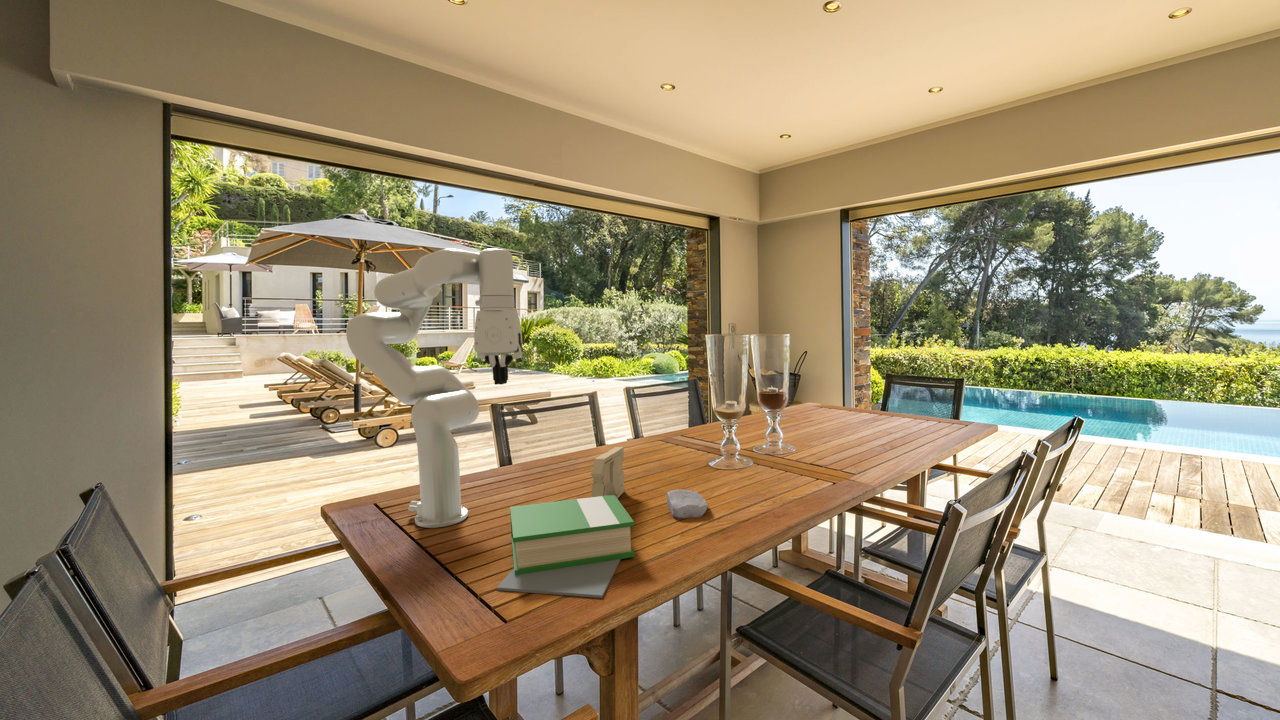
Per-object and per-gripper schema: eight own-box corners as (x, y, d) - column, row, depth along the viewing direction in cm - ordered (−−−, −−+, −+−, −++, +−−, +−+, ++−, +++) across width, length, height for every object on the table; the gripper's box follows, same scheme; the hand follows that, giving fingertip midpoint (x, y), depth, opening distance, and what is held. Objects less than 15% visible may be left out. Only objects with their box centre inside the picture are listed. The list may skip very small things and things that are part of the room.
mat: (496, 589, 95) (496, 587, 95) (541, 540, 116) (540, 537, 116) (602, 598, 91) (602, 595, 91) (627, 544, 113) (627, 542, 113)
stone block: (698, 507, 140) (663, 502, 138) (702, 490, 139) (666, 485, 138) (709, 526, 128) (670, 521, 127) (713, 507, 128) (674, 502, 126)
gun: (602, 523, 125) (601, 461, 125) (589, 522, 126) (588, 461, 126) (625, 498, 149) (624, 446, 149) (614, 498, 150) (613, 446, 150)
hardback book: (514, 575, 99) (634, 556, 106) (513, 537, 99) (634, 521, 105) (511, 538, 116) (615, 525, 123) (510, 506, 116) (614, 494, 122)
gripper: (459, 304, 116) (462, 385, 117) (521, 302, 113) (524, 385, 115) (475, 305, 123) (479, 382, 125) (534, 303, 121) (537, 381, 122)
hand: (500, 383), depth 120 cm, fingers closed
